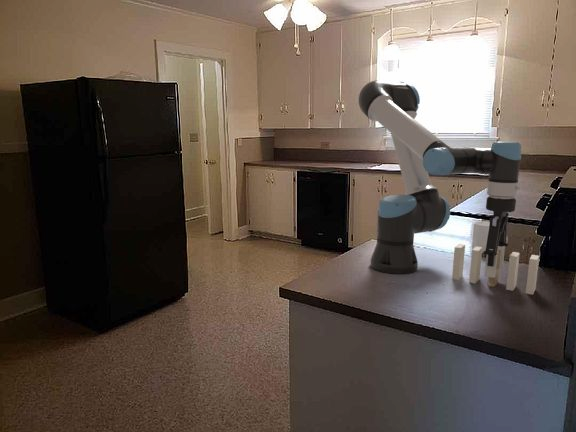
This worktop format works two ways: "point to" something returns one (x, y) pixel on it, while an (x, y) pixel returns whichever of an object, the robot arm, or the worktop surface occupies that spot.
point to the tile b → (475, 264)
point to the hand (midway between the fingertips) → (493, 271)
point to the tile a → (458, 261)
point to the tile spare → (494, 281)
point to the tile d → (532, 274)
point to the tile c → (512, 271)
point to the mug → (481, 235)
